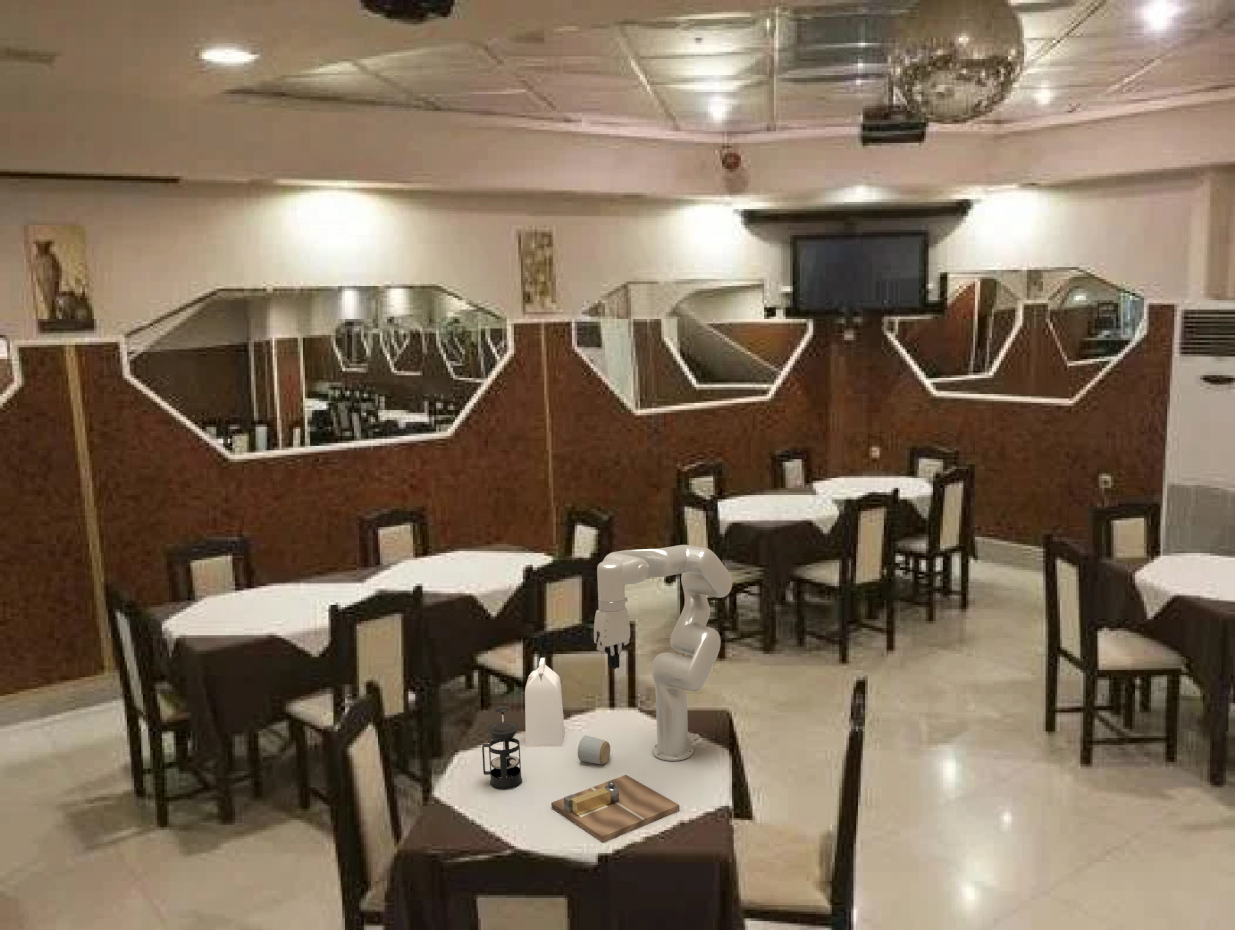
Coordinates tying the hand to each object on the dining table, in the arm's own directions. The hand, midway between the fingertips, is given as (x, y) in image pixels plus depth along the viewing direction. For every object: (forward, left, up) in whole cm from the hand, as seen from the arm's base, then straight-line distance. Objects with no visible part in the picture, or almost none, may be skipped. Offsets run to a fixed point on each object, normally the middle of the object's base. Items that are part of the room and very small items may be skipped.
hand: (613, 666), depth 290 cm
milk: (-1, -40, -35) cm, 53 cm away
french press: (+25, -22, -35) cm, 49 cm away
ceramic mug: (-4, -17, -35) cm, 39 cm away
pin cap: (+9, +10, -29) cm, 32 cm away
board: (+10, +12, -35) cm, 38 cm away
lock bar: (+15, +10, -33) cm, 38 cm away
